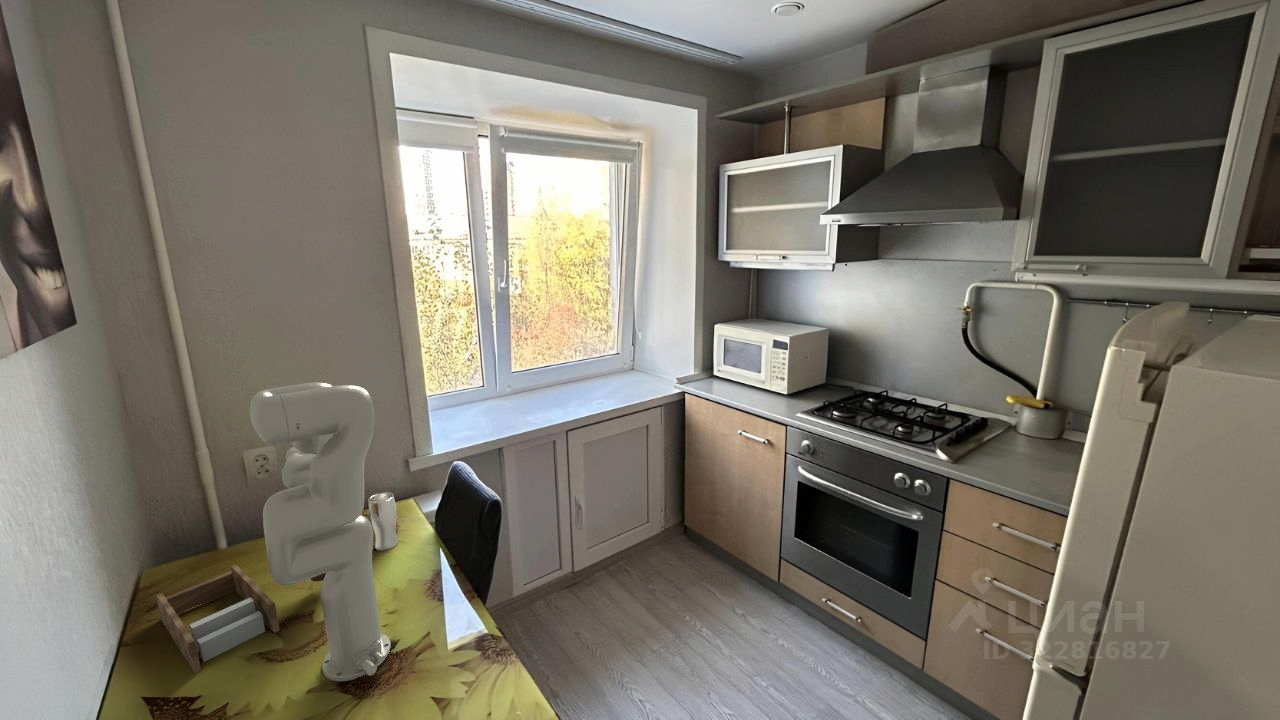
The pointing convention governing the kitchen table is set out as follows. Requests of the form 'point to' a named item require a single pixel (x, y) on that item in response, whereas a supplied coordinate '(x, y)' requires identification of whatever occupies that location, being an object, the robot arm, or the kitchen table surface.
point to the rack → (206, 593)
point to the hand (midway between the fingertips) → (320, 560)
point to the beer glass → (383, 520)
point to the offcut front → (230, 636)
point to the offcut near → (221, 619)
